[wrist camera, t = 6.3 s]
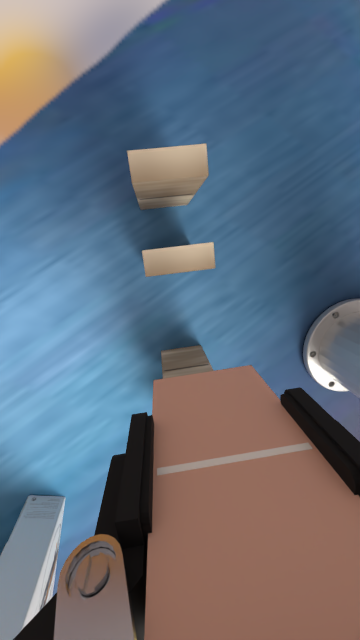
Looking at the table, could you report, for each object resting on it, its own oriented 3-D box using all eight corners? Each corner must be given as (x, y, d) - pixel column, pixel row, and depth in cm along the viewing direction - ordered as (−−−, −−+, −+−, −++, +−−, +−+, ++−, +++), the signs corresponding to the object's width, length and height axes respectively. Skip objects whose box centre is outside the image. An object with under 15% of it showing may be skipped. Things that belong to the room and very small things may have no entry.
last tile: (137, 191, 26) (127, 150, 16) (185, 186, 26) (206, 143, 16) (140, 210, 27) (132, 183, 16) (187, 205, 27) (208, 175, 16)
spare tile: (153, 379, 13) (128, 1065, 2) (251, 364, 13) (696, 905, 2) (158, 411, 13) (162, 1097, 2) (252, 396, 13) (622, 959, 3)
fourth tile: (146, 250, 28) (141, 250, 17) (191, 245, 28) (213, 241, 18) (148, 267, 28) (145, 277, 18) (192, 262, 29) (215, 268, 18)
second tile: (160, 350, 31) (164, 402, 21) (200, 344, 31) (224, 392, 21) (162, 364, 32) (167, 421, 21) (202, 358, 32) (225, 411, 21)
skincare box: (56, 597, 41) (-3, 807, 25) (20, 597, 40) (-64, 813, 24) (70, 495, 36) (6, 679, 20) (29, 492, 35) (-69, 681, 19)
